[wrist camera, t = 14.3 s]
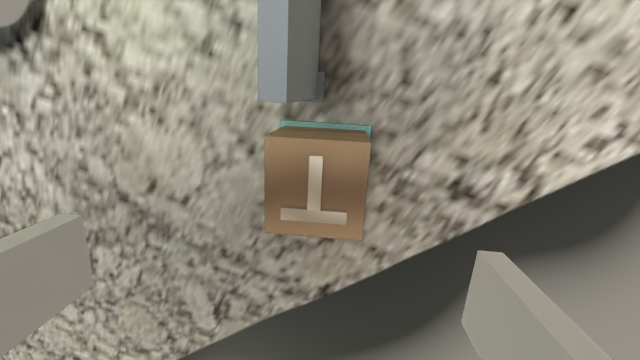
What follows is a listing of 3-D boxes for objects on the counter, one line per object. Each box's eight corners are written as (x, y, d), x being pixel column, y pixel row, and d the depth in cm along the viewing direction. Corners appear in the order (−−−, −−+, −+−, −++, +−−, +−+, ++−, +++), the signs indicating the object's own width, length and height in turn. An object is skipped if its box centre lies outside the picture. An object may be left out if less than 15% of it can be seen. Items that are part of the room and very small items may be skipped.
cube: (285, 125, 26) (263, 136, 19) (364, 130, 26) (371, 143, 19) (283, 200, 28) (263, 234, 21) (357, 205, 28) (361, 242, 21)
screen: (296, 100, 26) (244, 105, 13) (300, -39, 23) (239, -221, 10) (323, 101, 26) (300, 108, 12) (331, -38, 23) (311, -223, 10)
